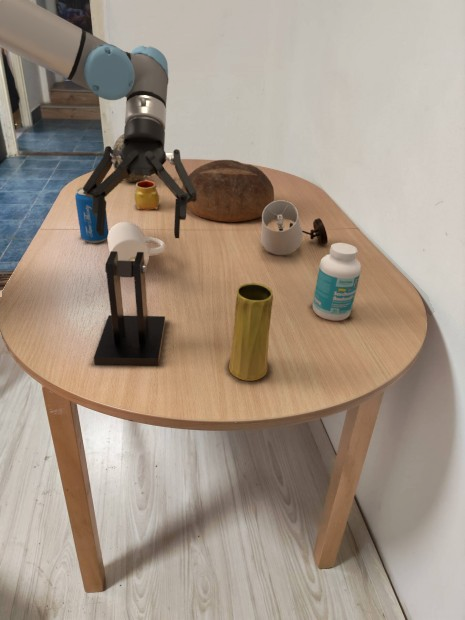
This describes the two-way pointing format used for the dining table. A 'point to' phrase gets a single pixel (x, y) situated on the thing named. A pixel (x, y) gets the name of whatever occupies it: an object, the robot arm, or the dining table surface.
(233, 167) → the bread
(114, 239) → the mug
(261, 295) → the vase
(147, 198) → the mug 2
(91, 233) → the beverage can
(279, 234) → the light fixture
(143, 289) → the stand
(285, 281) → the dining table surface
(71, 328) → the dining table surface
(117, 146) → the decorative egg
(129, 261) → the lever
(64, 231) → the dining table surface
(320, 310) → the pill bottle
